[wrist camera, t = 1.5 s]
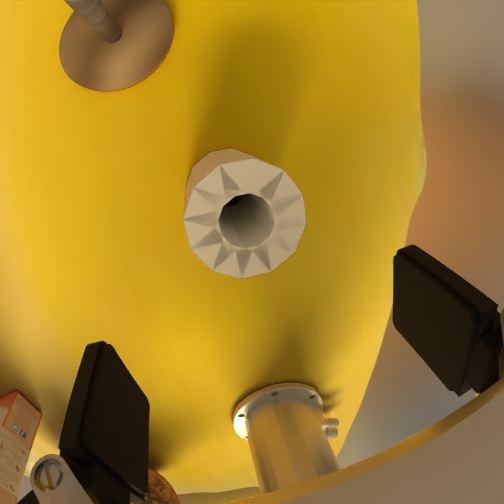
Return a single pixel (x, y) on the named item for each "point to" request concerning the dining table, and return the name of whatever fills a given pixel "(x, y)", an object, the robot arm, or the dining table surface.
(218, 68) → the dining table surface
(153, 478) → the ceramic vessel
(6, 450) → the cracker box
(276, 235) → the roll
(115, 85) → the stand
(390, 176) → the dining table surface
